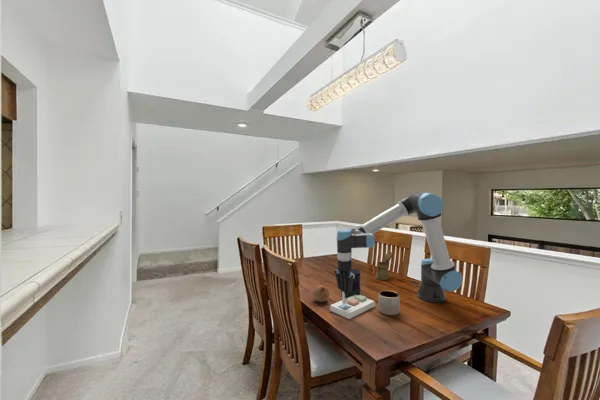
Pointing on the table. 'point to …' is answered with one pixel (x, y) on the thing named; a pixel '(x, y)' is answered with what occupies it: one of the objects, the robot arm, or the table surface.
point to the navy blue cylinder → (355, 283)
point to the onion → (321, 293)
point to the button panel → (352, 308)
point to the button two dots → (361, 298)
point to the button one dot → (344, 306)
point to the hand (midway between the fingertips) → (345, 303)
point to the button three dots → (353, 302)
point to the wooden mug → (383, 268)
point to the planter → (389, 302)
